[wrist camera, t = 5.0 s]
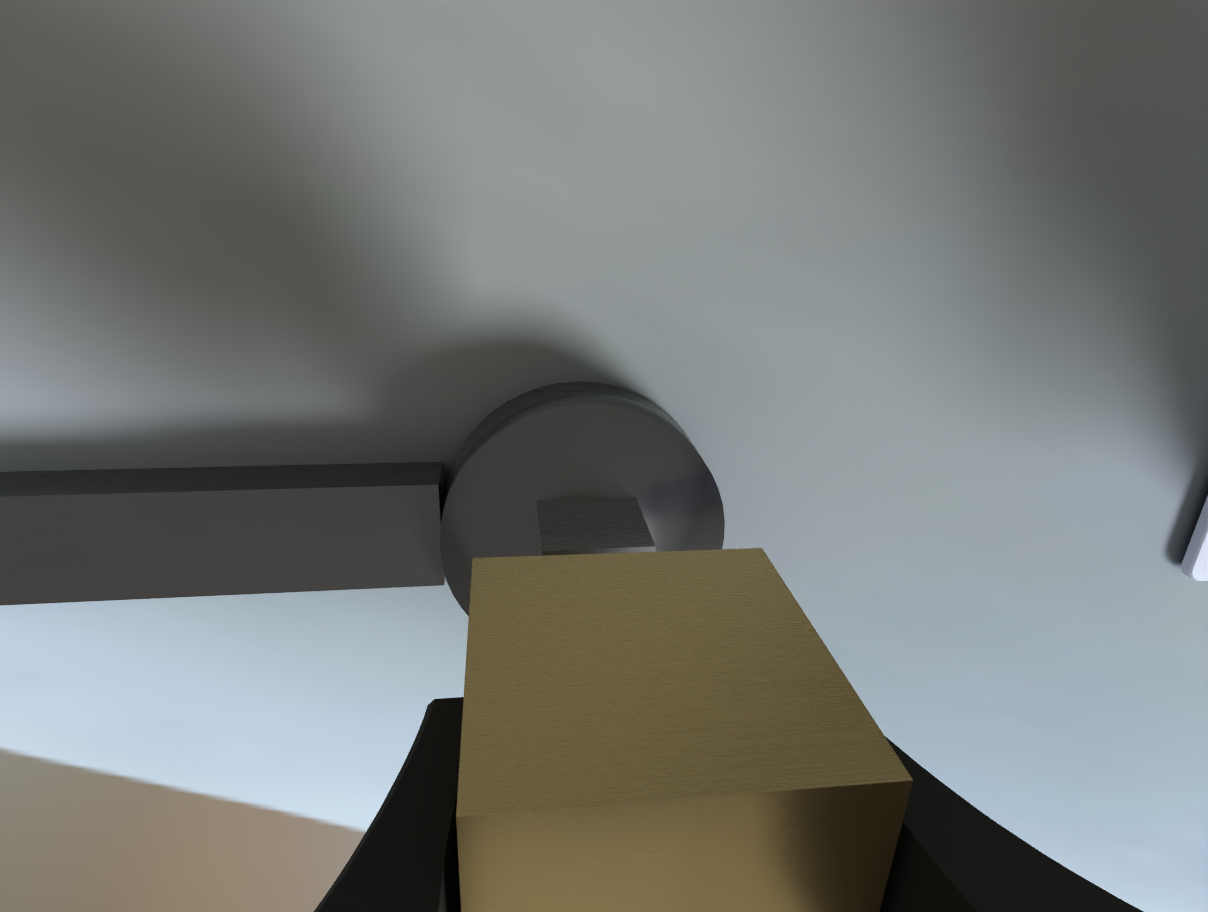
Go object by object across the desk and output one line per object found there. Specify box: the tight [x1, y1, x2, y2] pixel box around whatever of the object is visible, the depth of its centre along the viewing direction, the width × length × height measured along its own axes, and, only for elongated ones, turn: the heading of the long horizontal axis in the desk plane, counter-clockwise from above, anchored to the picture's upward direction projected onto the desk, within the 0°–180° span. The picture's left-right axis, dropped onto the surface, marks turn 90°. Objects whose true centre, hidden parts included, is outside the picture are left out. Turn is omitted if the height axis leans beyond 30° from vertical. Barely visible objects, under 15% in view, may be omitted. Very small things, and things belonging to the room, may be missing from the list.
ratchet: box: [0, 382, 725, 616], centre depth 17 cm, size 19×7×4 cm, turn 87°
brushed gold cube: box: [456, 548, 913, 912], centre depth 11 cm, size 5×5×5 cm
